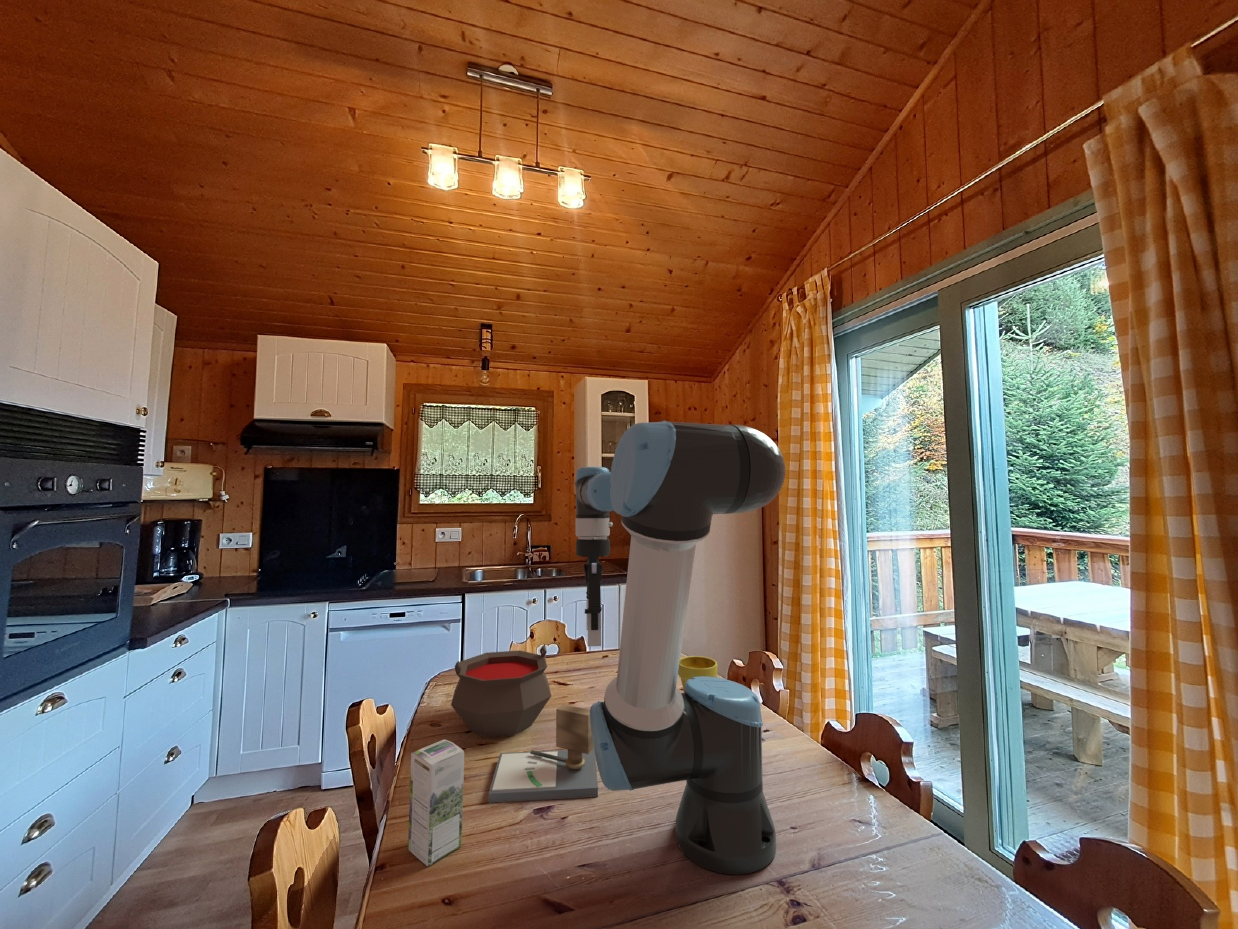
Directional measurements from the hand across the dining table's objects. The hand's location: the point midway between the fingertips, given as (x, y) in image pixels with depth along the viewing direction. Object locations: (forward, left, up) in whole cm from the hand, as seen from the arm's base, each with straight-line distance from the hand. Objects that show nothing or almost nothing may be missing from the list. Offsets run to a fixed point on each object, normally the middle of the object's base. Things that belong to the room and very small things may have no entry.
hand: (593, 637), depth 108 cm
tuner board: (-11, +9, -23) cm, 27 cm away
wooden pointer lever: (-9, +7, -21) cm, 24 cm away
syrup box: (-29, +25, -23) cm, 45 cm away
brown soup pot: (+13, +21, -23) cm, 34 cm away
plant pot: (+22, -28, -23) cm, 42 cm away
